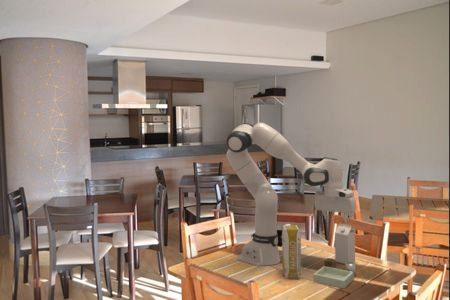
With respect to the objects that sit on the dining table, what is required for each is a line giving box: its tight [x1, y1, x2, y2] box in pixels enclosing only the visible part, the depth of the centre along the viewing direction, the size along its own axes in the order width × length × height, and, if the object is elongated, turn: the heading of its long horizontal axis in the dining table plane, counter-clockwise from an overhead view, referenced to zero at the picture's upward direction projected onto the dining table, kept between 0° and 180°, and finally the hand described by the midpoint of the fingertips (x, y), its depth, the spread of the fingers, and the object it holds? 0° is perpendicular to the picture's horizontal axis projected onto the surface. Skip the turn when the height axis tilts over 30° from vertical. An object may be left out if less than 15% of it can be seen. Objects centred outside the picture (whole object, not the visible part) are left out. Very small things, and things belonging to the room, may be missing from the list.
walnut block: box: [323, 257, 337, 269], centre depth 189 cm, size 4×4×5 cm
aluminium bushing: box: [345, 262, 357, 277], centre depth 183 cm, size 4×4×5 cm
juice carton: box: [281, 223, 302, 279], centre depth 183 cm, size 9×8×24 cm
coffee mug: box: [277, 225, 284, 248], centre depth 229 cm, size 12×9×10 cm
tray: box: [312, 265, 355, 289], centre depth 177 cm, size 14×12×3 cm
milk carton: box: [334, 222, 356, 265], centre depth 199 cm, size 7×7×19 cm
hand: (335, 220), depth 188 cm, fingers open, 8 cm apart
